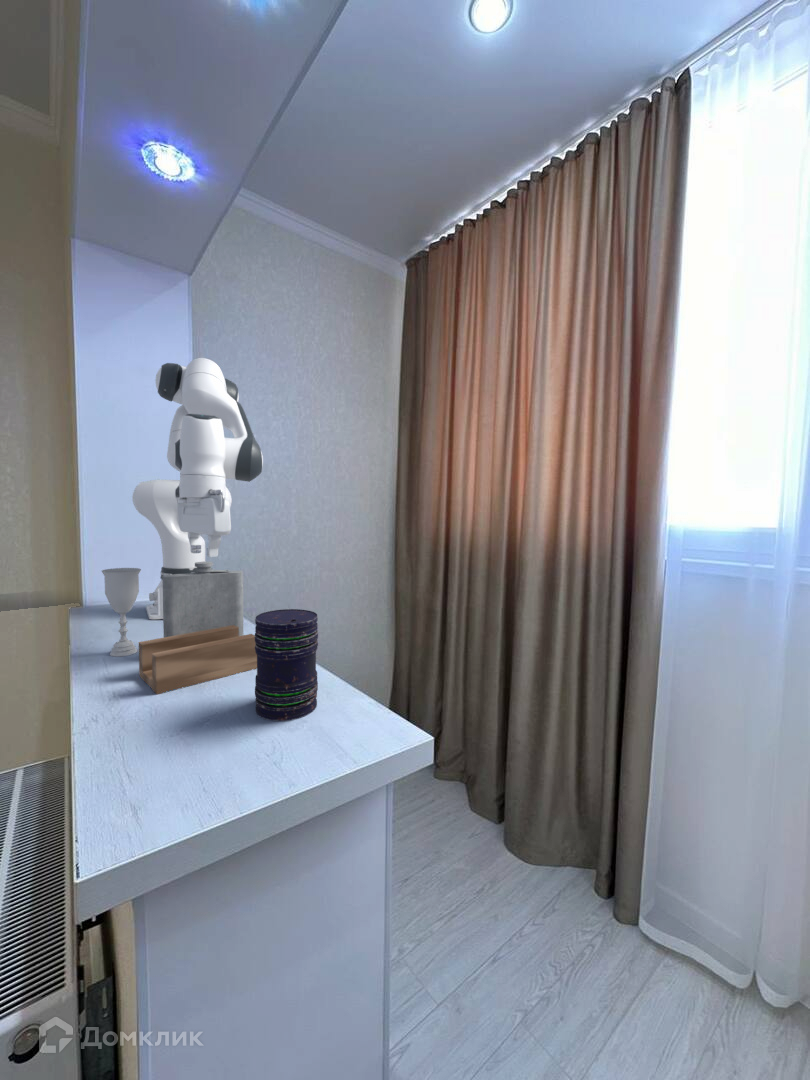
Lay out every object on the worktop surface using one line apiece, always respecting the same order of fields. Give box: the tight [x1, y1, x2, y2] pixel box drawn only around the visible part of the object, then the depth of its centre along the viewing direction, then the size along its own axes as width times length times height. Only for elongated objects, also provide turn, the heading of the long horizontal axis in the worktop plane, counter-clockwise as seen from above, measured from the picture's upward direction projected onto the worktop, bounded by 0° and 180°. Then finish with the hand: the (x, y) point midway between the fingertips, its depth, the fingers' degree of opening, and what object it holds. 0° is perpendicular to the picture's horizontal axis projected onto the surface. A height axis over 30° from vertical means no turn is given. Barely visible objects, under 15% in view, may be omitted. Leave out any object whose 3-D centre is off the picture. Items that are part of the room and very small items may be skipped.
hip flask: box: [162, 561, 244, 638], centre depth 94 cm, size 16×4×20 cm, turn 124°
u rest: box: [138, 625, 257, 695], centre depth 84 cm, size 11×18×6 cm, turn 135°
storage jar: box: [254, 608, 319, 722], centre depth 70 cm, size 10×10×15 cm
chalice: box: [101, 567, 142, 657], centre depth 93 cm, size 7×7×18 cm
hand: (203, 554), depth 93 cm, fingers open, 8 cm apart
